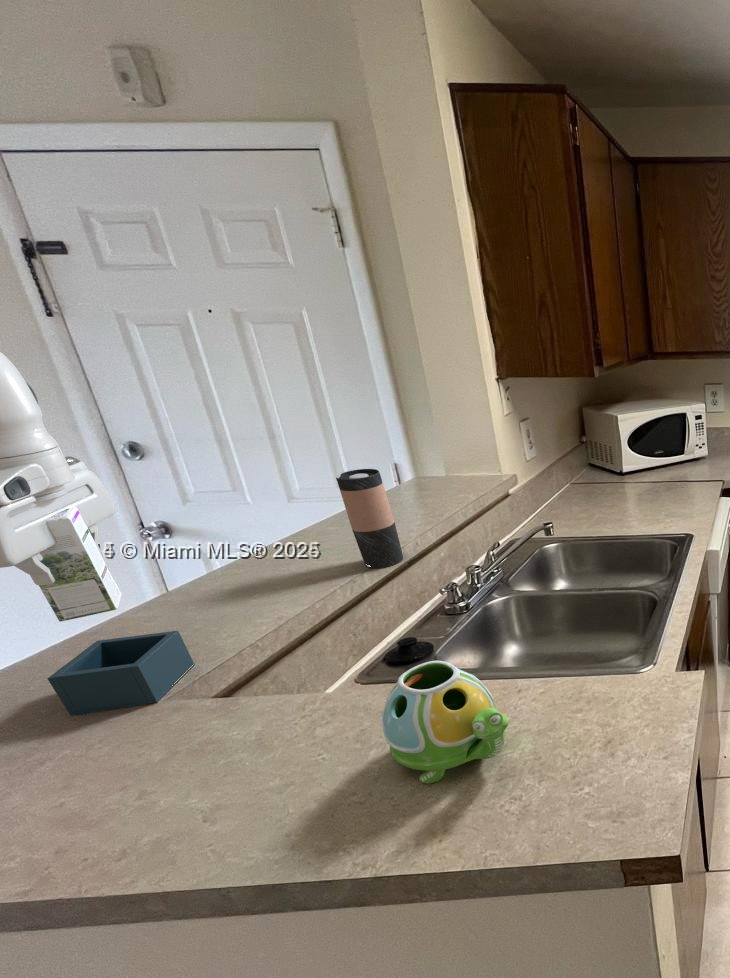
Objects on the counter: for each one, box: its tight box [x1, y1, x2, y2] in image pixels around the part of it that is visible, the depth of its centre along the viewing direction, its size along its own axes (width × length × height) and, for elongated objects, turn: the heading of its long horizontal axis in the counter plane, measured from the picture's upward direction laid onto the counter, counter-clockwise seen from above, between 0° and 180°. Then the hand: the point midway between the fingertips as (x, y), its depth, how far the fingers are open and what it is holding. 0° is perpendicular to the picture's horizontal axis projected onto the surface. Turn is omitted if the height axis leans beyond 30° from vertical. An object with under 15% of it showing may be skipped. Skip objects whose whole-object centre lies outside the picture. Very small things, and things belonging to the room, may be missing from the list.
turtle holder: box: [381, 660, 509, 784], centre depth 78 cm, size 12×18×12 cm
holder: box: [46, 630, 195, 716], centre depth 91 cm, size 10×10×6 cm
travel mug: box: [335, 468, 404, 570], centre depth 129 cm, size 8×8×20 cm
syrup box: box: [38, 506, 123, 623], centre depth 84 cm, size 6×6×14 cm
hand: (71, 570), depth 84 cm, fingers closed on syrup box, 7 cm apart
